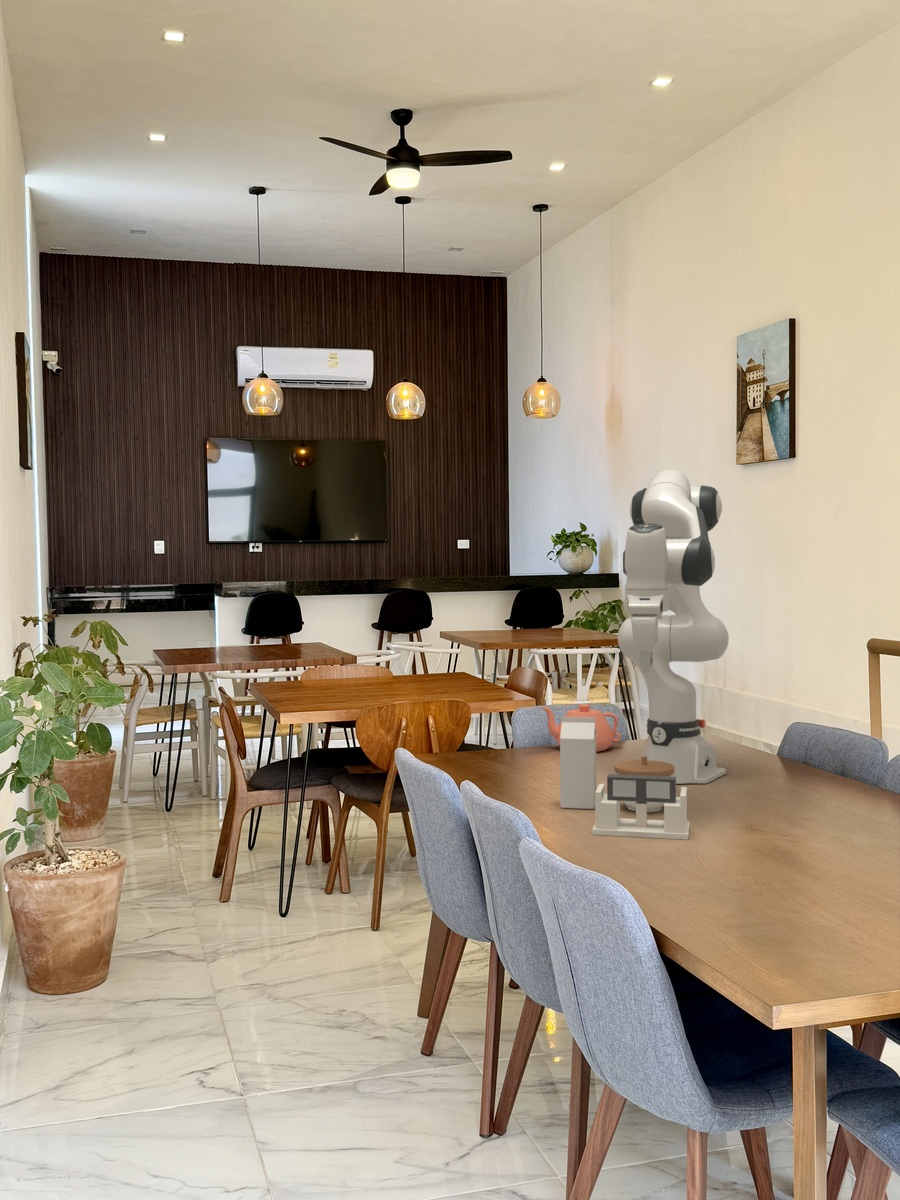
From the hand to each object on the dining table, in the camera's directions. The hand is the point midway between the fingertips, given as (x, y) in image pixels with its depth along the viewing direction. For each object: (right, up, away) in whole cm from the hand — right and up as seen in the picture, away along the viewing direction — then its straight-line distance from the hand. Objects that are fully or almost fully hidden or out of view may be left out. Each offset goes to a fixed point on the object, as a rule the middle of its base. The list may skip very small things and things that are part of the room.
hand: (647, 669), depth 225 cm
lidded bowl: (0, -30, +5) cm, 30 cm away
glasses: (-4, -25, -14) cm, 28 cm away
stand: (-4, -31, -14) cm, 34 cm away
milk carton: (-13, -30, +8) cm, 34 cm away
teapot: (-5, -27, +74) cm, 79 cm away
